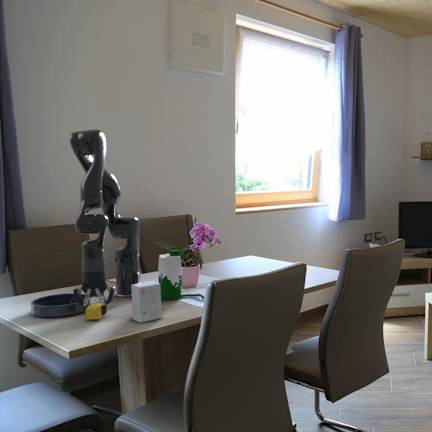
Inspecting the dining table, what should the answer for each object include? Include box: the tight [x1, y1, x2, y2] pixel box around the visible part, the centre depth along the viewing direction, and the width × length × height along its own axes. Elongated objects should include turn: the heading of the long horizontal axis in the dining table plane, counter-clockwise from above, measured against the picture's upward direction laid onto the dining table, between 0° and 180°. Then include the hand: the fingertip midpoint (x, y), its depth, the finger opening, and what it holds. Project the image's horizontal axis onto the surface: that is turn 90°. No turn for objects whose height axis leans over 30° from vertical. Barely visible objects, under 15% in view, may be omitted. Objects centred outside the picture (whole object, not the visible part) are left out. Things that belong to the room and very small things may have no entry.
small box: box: [131, 280, 163, 324], centre depth 199 cm, size 8×6×13 cm
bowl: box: [30, 292, 91, 318], centre depth 208 cm, size 19×19×4 cm
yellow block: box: [85, 302, 103, 321], centre depth 199 cm, size 7×5×4 cm, turn 13°
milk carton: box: [157, 249, 183, 301], centre depth 229 cm, size 9×9×20 cm
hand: (95, 315), depth 200 cm, fingers closed on yellow block, 4 cm apart
